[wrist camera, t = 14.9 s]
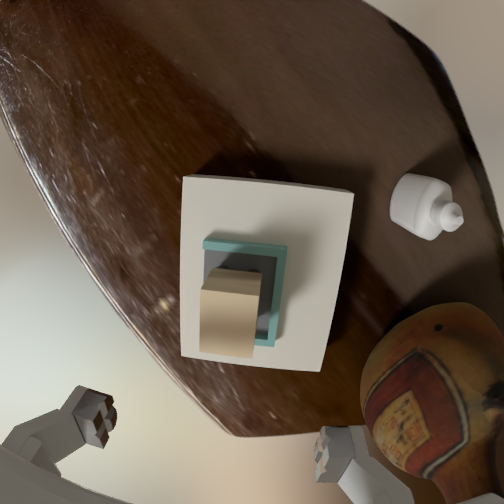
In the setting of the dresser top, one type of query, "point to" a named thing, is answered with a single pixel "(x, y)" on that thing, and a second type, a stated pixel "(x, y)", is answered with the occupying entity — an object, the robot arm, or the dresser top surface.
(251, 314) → the beige wheeled cart
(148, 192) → the dresser top surface
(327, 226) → the dock
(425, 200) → the eye dropper bottle
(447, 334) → the ceramic pitcher
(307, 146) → the dresser top surface
